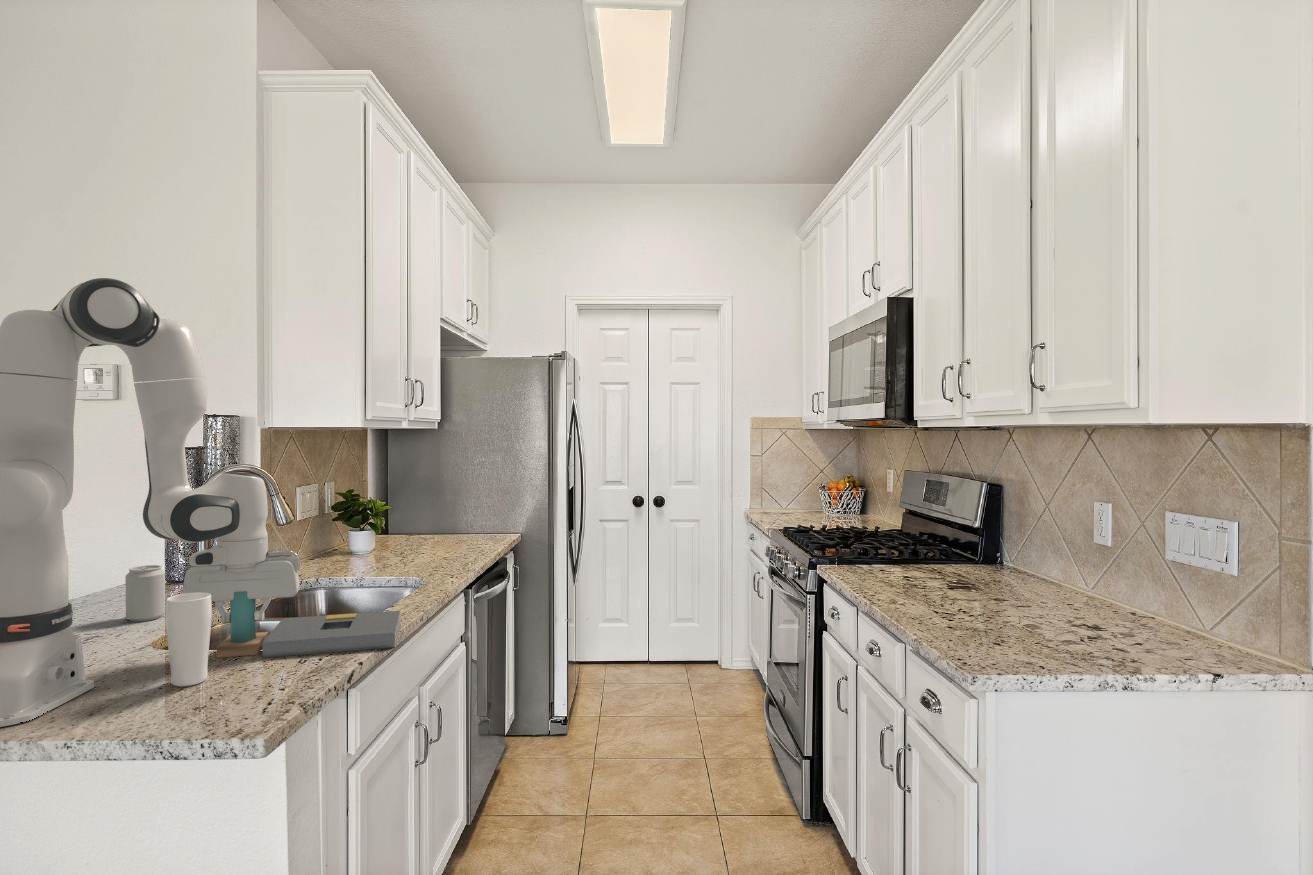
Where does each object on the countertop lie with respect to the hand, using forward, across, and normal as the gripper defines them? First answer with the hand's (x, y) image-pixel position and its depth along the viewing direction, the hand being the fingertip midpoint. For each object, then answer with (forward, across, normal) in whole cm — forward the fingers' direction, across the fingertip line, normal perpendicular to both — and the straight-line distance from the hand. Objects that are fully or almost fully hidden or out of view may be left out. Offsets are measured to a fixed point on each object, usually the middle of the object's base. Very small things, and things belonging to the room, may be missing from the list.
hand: (243, 621), depth 143 cm
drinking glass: (+6, +4, +18) cm, 19 cm away
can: (+6, +28, -32) cm, 43 cm away
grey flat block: (+6, -17, -2) cm, 18 cm away
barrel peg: (+4, 0, 0) cm, 4 cm away
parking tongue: (+6, 0, 0) cm, 6 cm away
